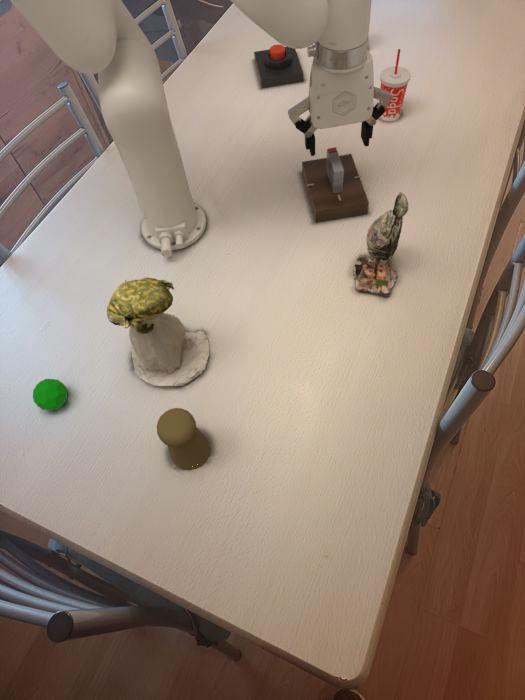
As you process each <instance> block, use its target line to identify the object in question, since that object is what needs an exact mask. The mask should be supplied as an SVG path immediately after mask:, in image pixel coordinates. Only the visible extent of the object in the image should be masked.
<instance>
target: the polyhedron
mask: <svg viewBox="0 0 525 700" xmlns="http://www.w3.org/2000/svg"><path fill="white" fill-rule="evenodd" d="M32 399H33V402H34V404H35V405H36V406H37V407H38V408H40V409H41V410H43V411H55V410H58V409H60V408H62V407H63V405H65V403H66V401H67V399H68V389H67V386H66V385H65V384H64V383H63V382H61V381H60V380H59V379H55V378H45V379H43V380H41V381H39V382H38V383H37V384H36V385H35V386H34V388H33V390H32Z"/></svg>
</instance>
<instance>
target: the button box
mask: <svg viewBox="0 0 525 700" xmlns="http://www.w3.org/2000/svg"><path fill="white" fill-rule="evenodd" d="M284 47H285V57H284V58H282V59H278V60H275V59H271V58H270V48H269V49H264V50H257V51H253V55H254V63H255V67H256V71H257V77H258V80H259V84H260V88H261V89H268V88H274V87H275V88H276V87H280V86H286V85H292V84H293V85H294V84H299V83H304V71H303V67H302V65H301V62H300V59H299V56H298V52H297V49H294V48H289V47H287V46H284Z"/></svg>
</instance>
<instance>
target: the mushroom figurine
mask: <svg viewBox="0 0 525 700" xmlns="http://www.w3.org/2000/svg"><path fill="white" fill-rule="evenodd" d="M170 290H173V291H174V290H175V287H174V283H173V282H172V281H168V280H164V279H157V278H155V277H154V278H153V277H142V278H141V279H133V280H128V281H127V279H125V280H124V282H122V283H120V284H119V285H118V286H117V287H116V288H115V290H114V292H113V293H112V294H111V297H110V300H109V302H108V305H107V307H106V316H107V319H108V321H109V322H110V323H111V324H113V325H115V326H118V327H124V329H129V330H128V336H129V340H130V343H131V346H132V348H131V359H132V361H133V368H134V369H133V371H134V373H135V374H136V375H137V376H138V377H139V378H140V379H141V380H143V381H144V382H146V383H148V384H149V385H152V386H155V387H180V386H185V385H186V384H187V383H189V382H192V381H193V380H195V379H196V378H198V376H199V375H201V374H202V373H203V371H205V370H206V367H207V363H208V359H209V358H210V343H209V338H208V337H207V335H206V333H205V332H204V331H202V330H198V331H196V332H189V331H186V328H185V325H184V323H183V322H182V321H181V319H180V318H179V317H178V316H177V317H176V314H170V313H166V311H168V310H169V309H170V307H172V306H173V302H174V296H173V295H172V292H171V291H170Z"/></svg>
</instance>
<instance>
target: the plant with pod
mask: <svg viewBox="0 0 525 700" xmlns="http://www.w3.org/2000/svg"><path fill="white" fill-rule="evenodd" d="M408 212H409V201H408V197H407V196H406V194H405V193H403V192H401V191H400V192H399V193H398V194H397V196H396V198H395V201H394V205H393V209H389V210H388V211H385V212H384V213H383V214H381V215H380V216H379V217H377V218H376V219H375V220H374V221H373V222H372V223H371V225H370V227H368V229H367V232H366V237H365V238H366V247H367V249H366V251H367V253H368V254H369V256H370V257H371V258H370V257H366V256H361V257H357V258H356V262H355V264H354V266H353V269H352V272H353V276H354V277H353V280H354V281H355V290H356V291H358V292H361V293H362V292H365V293H367V292H369V293H371V294H372V293H374V295H381V297H384V298H385V297H388V296H390V295H391V292H392V290H393V287H394V285H395V283H396V281H397V279H398V273H397V270H395V267H394V264H393V262H392V261H391V260H392V259H393V257H394V255H395V253H396V251H397V250H398V247H399V241H400V238H401V233H402V228H403V223H404V220H403V219H404V218H403V217H405V216H406V214H407V213H408Z"/></svg>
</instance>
